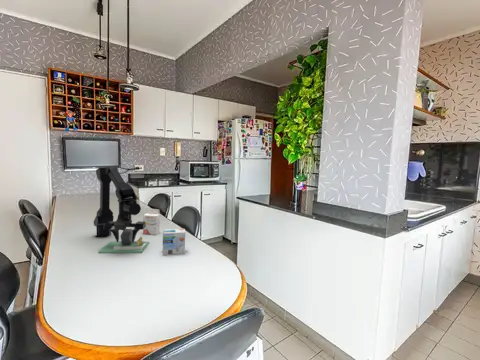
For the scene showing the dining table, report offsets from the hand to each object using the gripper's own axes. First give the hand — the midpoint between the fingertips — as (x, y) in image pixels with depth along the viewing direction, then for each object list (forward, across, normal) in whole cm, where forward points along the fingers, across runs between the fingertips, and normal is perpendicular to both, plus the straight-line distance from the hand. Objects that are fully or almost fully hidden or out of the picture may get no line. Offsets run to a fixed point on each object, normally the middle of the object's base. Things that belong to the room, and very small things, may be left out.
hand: (125, 241), depth 126 cm
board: (+3, 0, 0) cm, 3 cm away
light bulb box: (+3, +25, -6) cm, 26 cm away
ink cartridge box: (+3, +7, +24) cm, 25 cm away
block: (-1, 0, 0) cm, 1 cm away
